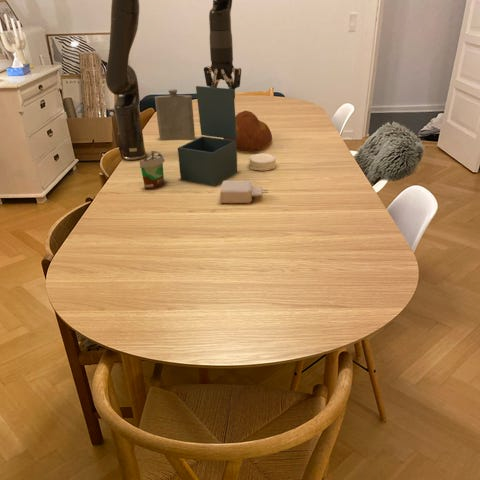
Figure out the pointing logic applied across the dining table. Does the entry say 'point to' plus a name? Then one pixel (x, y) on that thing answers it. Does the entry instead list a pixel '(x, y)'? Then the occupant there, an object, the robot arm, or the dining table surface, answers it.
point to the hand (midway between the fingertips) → (223, 100)
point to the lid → (217, 112)
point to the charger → (239, 191)
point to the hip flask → (175, 116)
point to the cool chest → (208, 160)
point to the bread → (251, 132)
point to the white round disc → (262, 162)
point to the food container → (153, 170)
